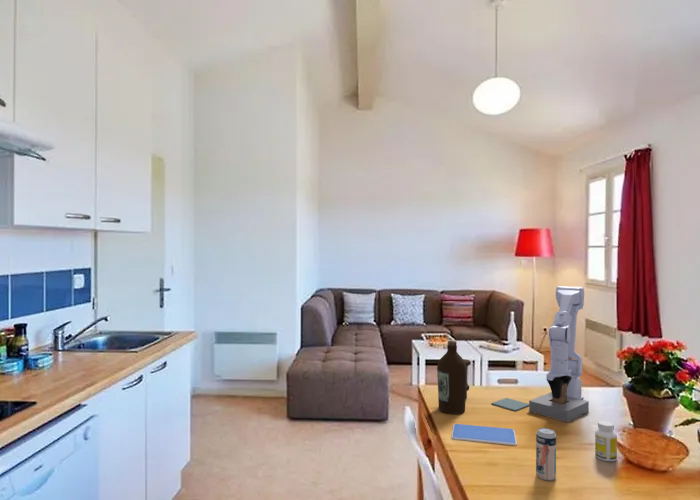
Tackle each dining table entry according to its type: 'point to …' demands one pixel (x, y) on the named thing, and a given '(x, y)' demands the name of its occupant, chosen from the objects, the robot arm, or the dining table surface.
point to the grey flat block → (559, 407)
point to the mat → (510, 404)
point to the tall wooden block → (561, 395)
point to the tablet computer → (484, 434)
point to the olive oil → (452, 381)
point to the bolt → (466, 378)
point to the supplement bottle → (606, 442)
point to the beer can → (546, 454)
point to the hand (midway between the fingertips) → (558, 396)
